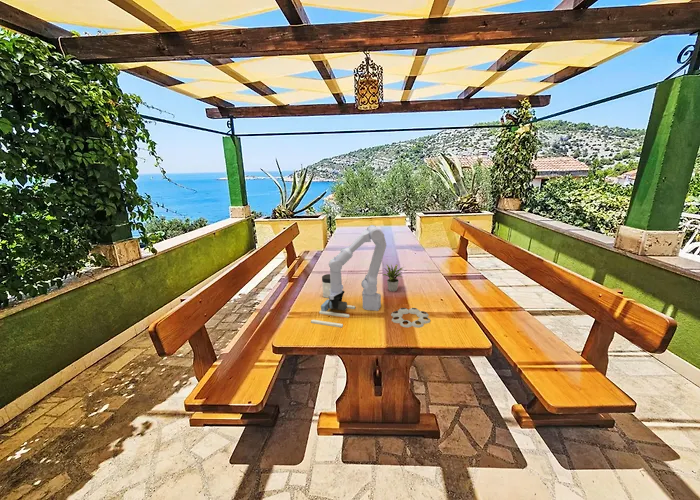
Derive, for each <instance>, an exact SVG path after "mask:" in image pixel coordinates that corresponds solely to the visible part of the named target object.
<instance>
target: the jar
mask: <svg viewBox="0 0 700 500" xmlns="http://www.w3.org/2000/svg"><path fill="white" fill-rule="evenodd" d="M321 280H322V281H321V283H322V284H321V285H322V286H321V287H322V297H323V298H326V299H329V296H330V291H329V289H331V283H330V273H327V274H324V275H322V276H321Z"/></svg>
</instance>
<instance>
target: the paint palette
mask: <svg viewBox="0 0 700 500" xmlns="http://www.w3.org/2000/svg"><path fill="white" fill-rule="evenodd" d="M407 314H411V315H416V317H418V318H417V319H415V320H413V321H412V322H411V321H410V320H407V319H406V320H405V319H404V318H403V315H407ZM390 315H391V317H392V318H391V322H393V323H395V324H399V325H400V327H403V328H411V327H413V328H423V327H424V326H425V325H427V324H430V323H431V319H430V318H429V316H430V314H428V312H426V311H423V310H422V311H421V310H420V309H418V308H415V307H411V308H409V309H408V308H406V307H400V308H399V309H398V310H396V311H395V310H394V311H392V312H391V314H390ZM395 318H397V319H395ZM424 318H425V319H424ZM403 322H404V323H405V322H408V323H407V324H406V323H405V324H404V323H403ZM417 322H419V323H420V324H417ZM424 324H425V325H424Z"/></svg>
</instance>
